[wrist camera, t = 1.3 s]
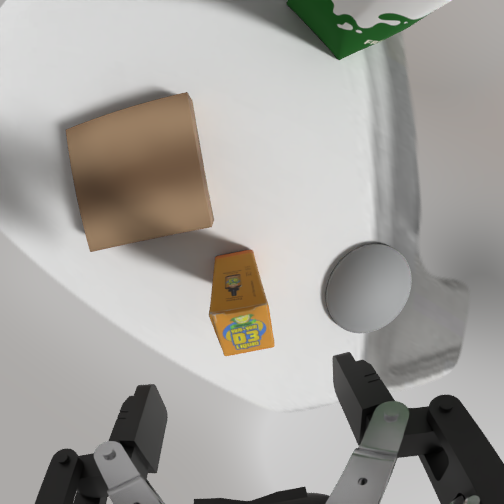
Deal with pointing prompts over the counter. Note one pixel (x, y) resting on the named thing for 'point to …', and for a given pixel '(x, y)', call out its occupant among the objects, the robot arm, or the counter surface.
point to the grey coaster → (368, 288)
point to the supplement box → (239, 305)
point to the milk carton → (360, 20)
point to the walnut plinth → (140, 173)
